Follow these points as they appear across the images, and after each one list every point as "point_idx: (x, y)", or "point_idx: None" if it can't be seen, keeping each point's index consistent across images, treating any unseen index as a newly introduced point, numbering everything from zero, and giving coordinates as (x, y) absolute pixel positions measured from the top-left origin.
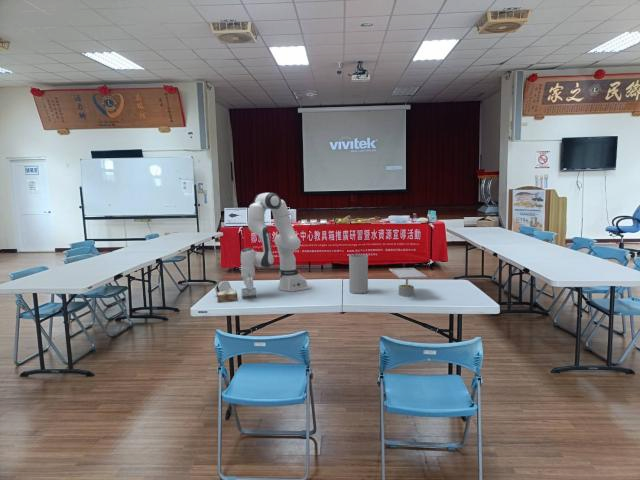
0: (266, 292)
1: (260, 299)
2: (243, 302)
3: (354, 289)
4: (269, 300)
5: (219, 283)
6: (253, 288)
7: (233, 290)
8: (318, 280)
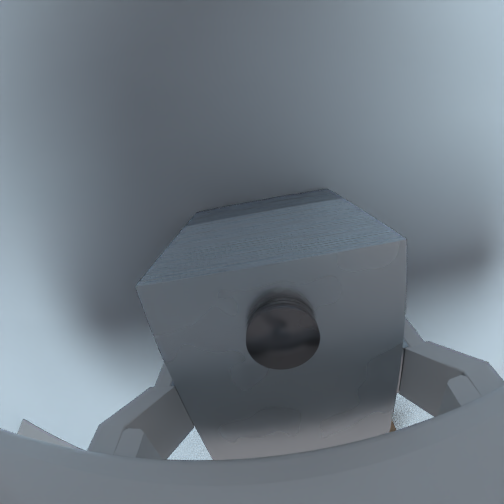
0: (6, 69)
1: (430, 125)
2: (475, 347)
3: None
4: (480, 22)
5: None
6: (317, 337)
7: (25, 432)
8: None
